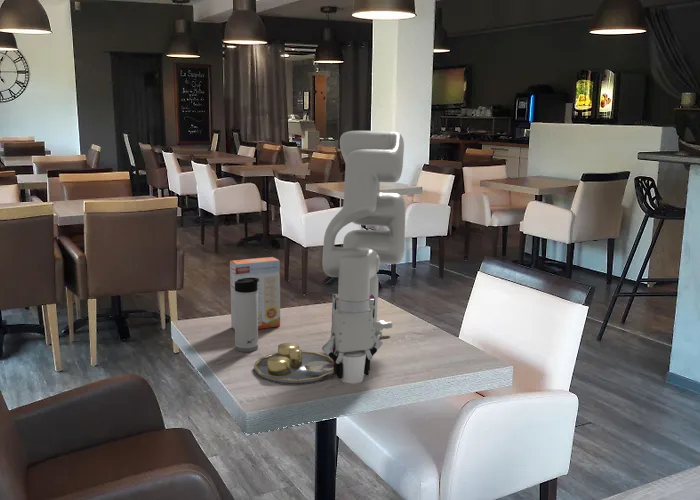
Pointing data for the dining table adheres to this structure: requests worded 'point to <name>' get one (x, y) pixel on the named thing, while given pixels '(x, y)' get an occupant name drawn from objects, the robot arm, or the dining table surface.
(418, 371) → the dining table surface
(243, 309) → the travel mug
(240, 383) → the dining table surface
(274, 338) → the dining table surface
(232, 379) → the dining table surface
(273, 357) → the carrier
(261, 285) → the cracker box
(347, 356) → the shot glass
